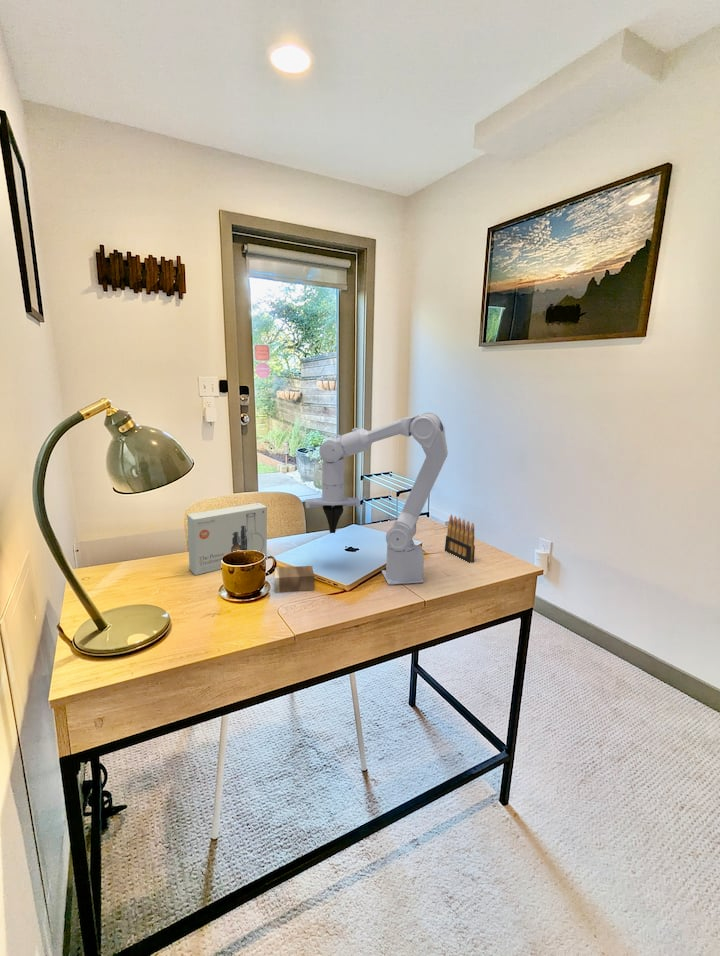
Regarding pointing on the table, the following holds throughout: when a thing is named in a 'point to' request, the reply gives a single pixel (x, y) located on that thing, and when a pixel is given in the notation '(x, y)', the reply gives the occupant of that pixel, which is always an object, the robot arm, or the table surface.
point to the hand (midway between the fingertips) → (332, 531)
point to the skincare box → (225, 534)
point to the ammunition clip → (460, 539)
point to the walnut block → (294, 579)
